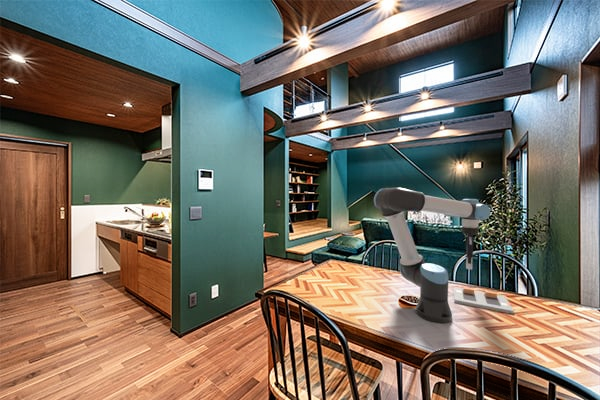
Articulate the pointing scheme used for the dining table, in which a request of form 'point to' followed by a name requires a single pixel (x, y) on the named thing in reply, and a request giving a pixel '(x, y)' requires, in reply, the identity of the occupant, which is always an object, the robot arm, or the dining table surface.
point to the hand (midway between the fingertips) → (469, 268)
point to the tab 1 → (468, 290)
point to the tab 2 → (490, 294)
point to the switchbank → (482, 300)
